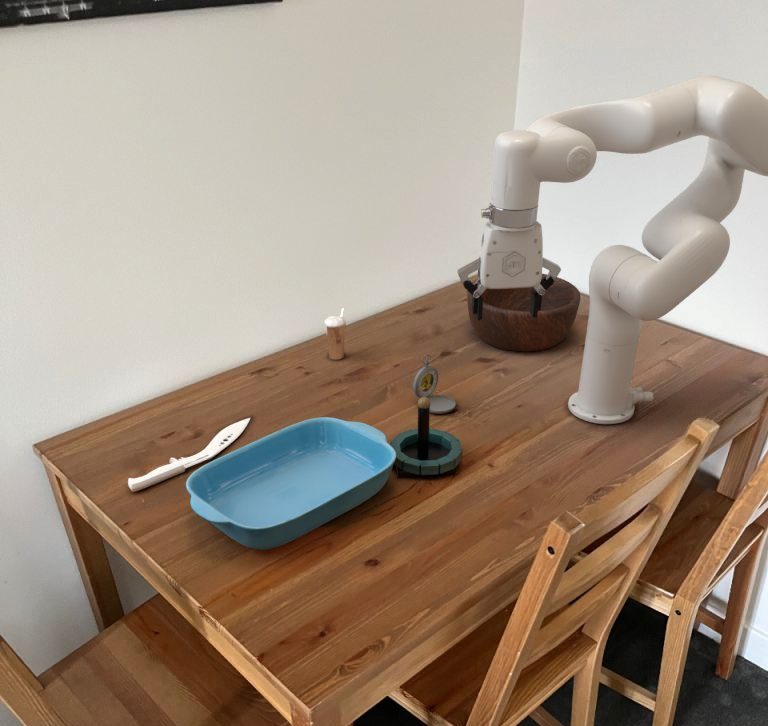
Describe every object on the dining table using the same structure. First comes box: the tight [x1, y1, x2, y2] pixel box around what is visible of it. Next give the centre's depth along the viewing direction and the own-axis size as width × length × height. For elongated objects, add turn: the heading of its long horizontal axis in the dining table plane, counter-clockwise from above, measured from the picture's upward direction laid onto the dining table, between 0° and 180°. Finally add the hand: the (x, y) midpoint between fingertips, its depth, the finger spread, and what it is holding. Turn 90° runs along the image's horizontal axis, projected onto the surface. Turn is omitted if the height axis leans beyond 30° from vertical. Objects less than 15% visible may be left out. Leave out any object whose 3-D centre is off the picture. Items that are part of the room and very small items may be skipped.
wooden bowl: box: [466, 273, 582, 352], centre depth 192 cm, size 25×25×10 cm
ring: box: [389, 427, 463, 475], centre depth 151 cm, size 13×13×2 cm
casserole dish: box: [185, 416, 396, 551], centre depth 140 cm, size 37×22×7 cm, turn 135°
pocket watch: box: [412, 353, 457, 415], centre depth 165 cm, size 8×8×10 cm
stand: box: [394, 397, 456, 479], centre depth 148 cm, size 10×10×13 cm
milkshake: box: [323, 307, 347, 361], centre depth 183 cm, size 4×5×10 cm
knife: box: [127, 417, 251, 493], centre depth 154 cm, size 30×2×8 cm
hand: (505, 315), depth 147 cm, fingers open, 9 cm apart
